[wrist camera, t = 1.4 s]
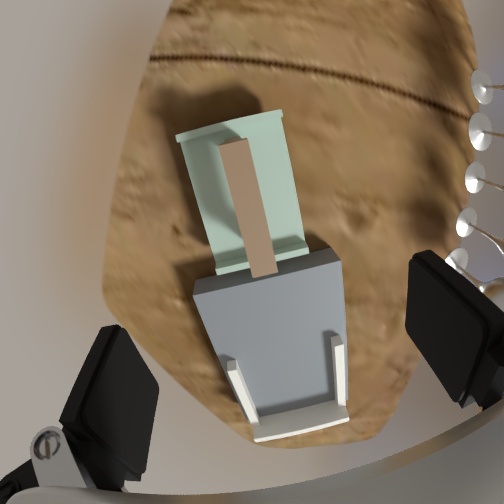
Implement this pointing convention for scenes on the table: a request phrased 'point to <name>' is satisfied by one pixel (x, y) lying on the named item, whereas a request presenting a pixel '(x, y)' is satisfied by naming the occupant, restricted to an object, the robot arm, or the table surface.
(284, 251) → the mint green tray
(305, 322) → the dock
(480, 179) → the goblet set
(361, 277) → the table surface
